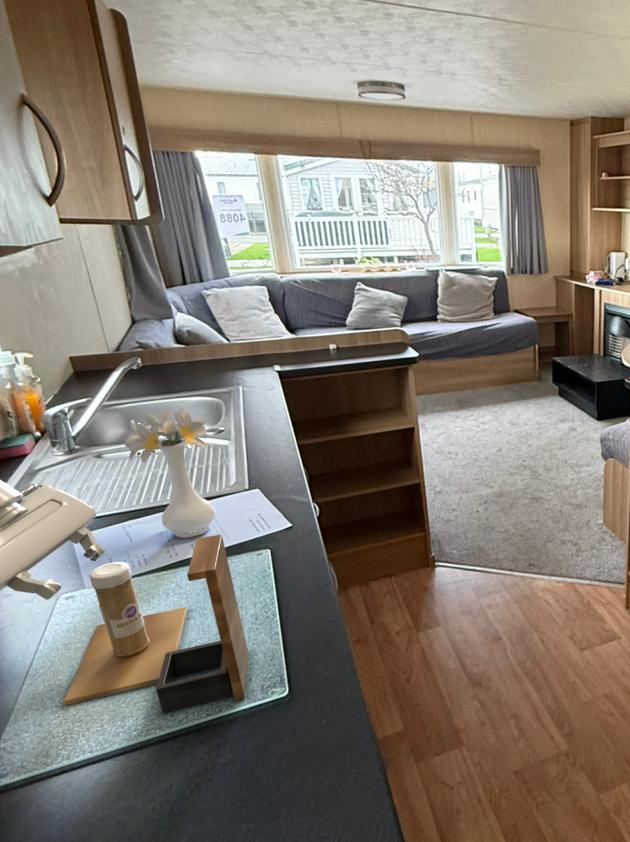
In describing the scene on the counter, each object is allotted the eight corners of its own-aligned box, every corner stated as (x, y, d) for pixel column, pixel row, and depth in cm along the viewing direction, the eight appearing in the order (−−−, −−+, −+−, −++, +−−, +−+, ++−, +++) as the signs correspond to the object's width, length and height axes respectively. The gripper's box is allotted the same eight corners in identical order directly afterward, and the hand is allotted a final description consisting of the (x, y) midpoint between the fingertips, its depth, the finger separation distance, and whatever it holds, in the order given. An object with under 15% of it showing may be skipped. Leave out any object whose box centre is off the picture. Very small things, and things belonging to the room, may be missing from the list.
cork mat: (65, 705, 86) (63, 701, 86) (98, 629, 101) (97, 625, 101) (170, 680, 90) (169, 675, 90) (187, 611, 106) (186, 606, 106)
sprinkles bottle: (135, 659, 93) (111, 578, 89) (105, 657, 94) (80, 576, 89) (158, 639, 98) (136, 561, 93) (129, 637, 98) (106, 559, 93)
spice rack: (161, 719, 84) (122, 586, 77) (173, 671, 92) (138, 547, 85) (244, 698, 87) (214, 569, 80) (248, 653, 96) (221, 534, 89)
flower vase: (228, 506, 142) (204, 396, 134) (225, 542, 127) (198, 421, 118) (158, 517, 137) (128, 404, 128) (146, 557, 121) (112, 432, 113)
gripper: (27, 493, 97) (112, 549, 101) (-101, 568, 78) (12, 633, 82) (50, 465, 95) (135, 523, 100) (-74, 535, 76) (39, 603, 81)
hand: (79, 574), depth 91 cm, fingers open, 8 cm apart
